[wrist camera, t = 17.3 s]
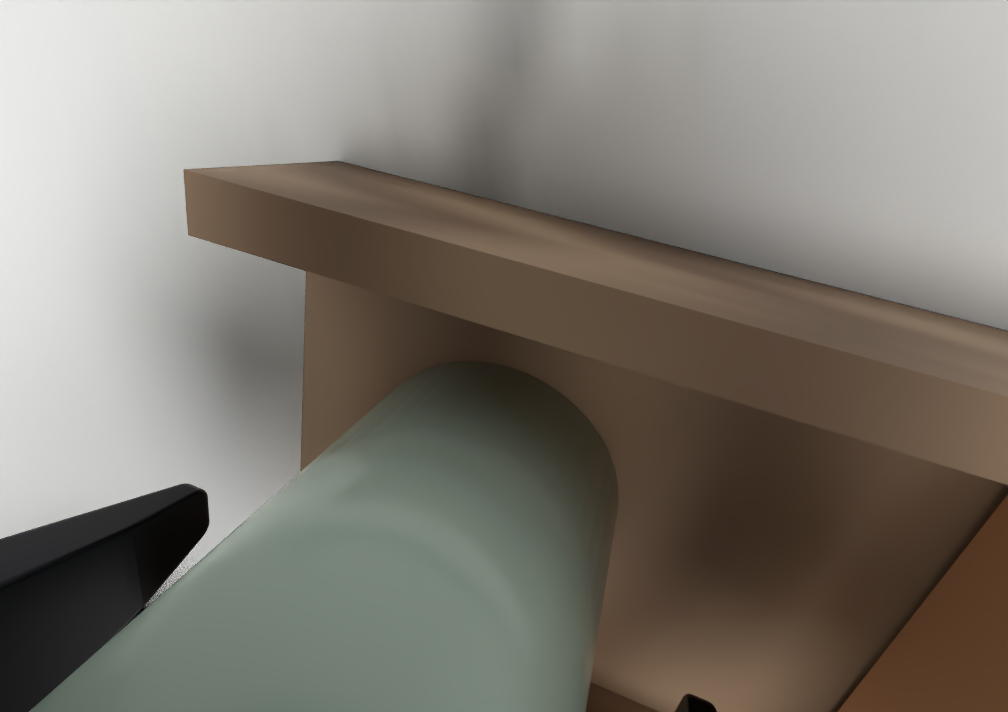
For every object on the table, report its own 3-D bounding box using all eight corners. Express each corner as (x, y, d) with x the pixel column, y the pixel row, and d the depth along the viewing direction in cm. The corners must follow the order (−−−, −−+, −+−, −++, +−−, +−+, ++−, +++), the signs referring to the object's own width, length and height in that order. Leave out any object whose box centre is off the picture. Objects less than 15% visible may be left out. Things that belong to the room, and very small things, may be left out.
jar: (355, 533, 14) (-66, 1048, 6) (375, 315, 11) (-346, 736, 3) (584, 626, 13) (434, 1423, 5) (669, 408, 10) (646, 1415, 2)
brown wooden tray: (317, 556, 16) (219, 669, 13) (338, 160, 11) (183, 169, 8) (943, 824, 13) (1042, 1079, 9) (1382, 426, 8) (1959, 658, 4)
